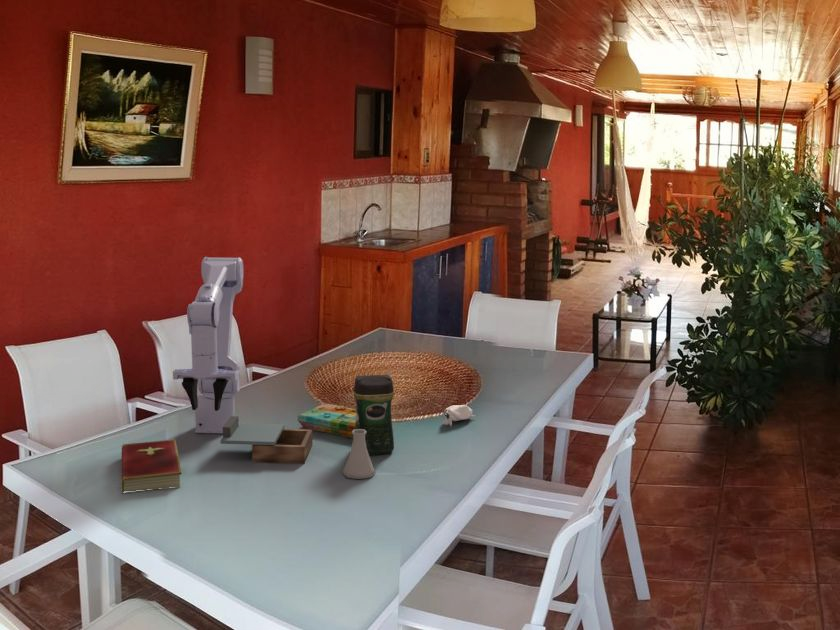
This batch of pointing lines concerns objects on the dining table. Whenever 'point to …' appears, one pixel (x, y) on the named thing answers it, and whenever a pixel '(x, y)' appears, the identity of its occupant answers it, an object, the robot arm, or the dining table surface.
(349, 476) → the flask
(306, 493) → the dining table surface
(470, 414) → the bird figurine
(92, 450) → the dining table surface
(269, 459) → the box
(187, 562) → the dining table surface
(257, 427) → the lid
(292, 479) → the dining table surface
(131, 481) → the hardcover book
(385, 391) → the coffee jar
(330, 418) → the puzzle game
